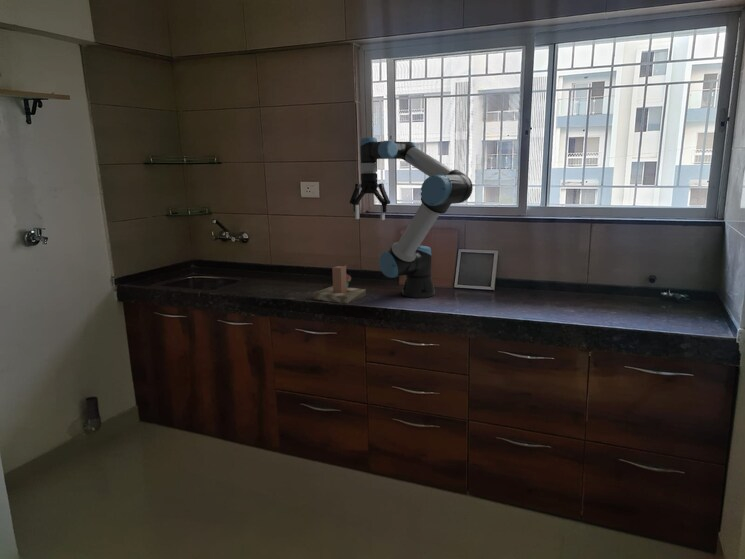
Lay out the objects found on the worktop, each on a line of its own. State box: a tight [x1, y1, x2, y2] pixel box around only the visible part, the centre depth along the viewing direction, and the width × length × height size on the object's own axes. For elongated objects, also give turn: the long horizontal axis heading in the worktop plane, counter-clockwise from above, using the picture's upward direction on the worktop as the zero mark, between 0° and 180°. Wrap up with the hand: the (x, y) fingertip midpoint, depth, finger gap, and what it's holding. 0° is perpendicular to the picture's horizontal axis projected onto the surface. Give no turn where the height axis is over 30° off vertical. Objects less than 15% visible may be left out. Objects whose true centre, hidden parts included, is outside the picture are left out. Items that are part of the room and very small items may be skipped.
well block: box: [313, 285, 367, 304], centre depth 240 cm, size 18×16×3 cm
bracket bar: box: [331, 265, 347, 294], centre depth 239 cm, size 4×4×14 cm
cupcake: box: [344, 264, 352, 288], centre depth 259 cm, size 9×8×12 cm
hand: (369, 219), depth 242 cm, fingers open, 13 cm apart
